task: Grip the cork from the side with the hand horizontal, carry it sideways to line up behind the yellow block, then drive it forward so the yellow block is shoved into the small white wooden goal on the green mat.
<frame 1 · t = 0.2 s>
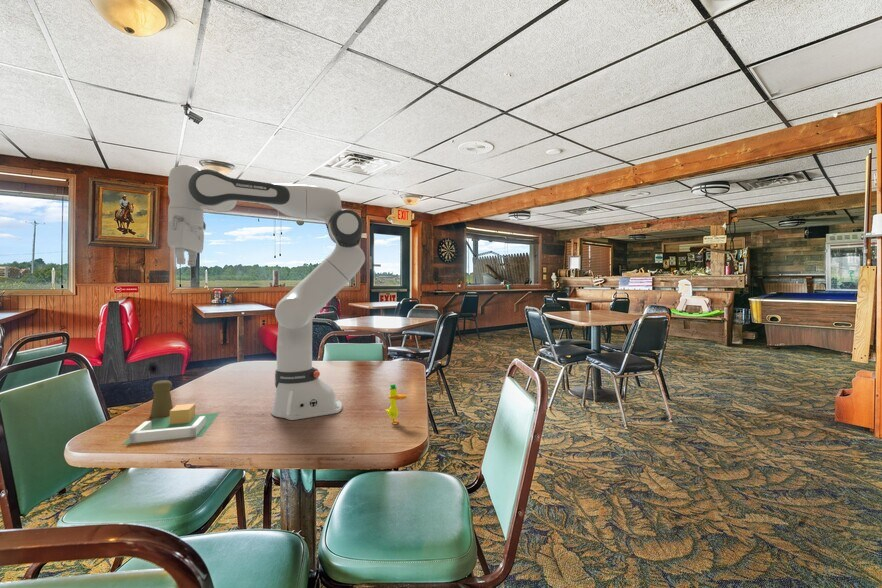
hand: (186, 265, 114), 48 cm above the table, tool pointing down, fingers open, 8 cm apart
goal: (170, 432, 104), resting on mat
toy figure: (395, 423, 114), on the table
mat: (176, 427, 109), on the table
yellow block: (182, 420, 114), resting on mat
cork: (162, 415, 119), on the table
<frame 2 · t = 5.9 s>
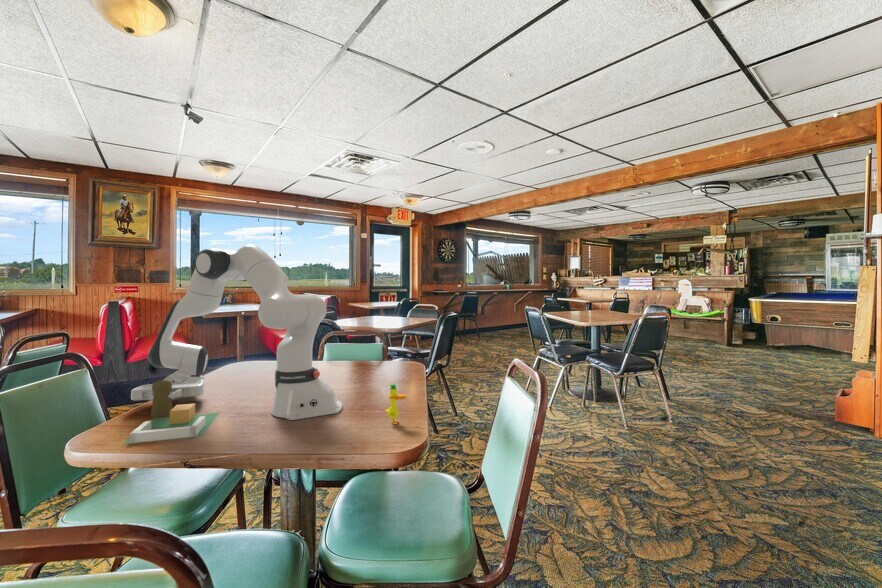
hand: (161, 397, 118), 6 cm above the table, tool horizontal, fingers closed on cork, 4 cm apart
cork: (162, 415, 119), on the table, touching gripper
everything else where it was.
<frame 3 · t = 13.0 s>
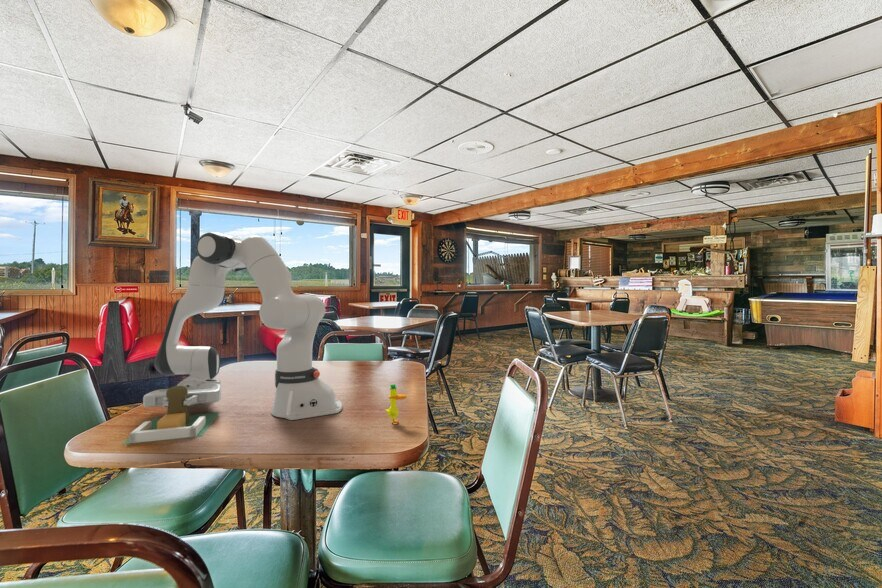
hand: (176, 403, 109), 7 cm above the table, tool horizontal, fingers closed on cork, 4 cm apart
yellow block: (171, 431, 106), resting on mat
cork: (178, 423, 111), resting on mat, touching gripper
everything else where it was.
when the fingers open (7 cm above the table, at t = 13.0 s): cork stays where it is, resting on mat.
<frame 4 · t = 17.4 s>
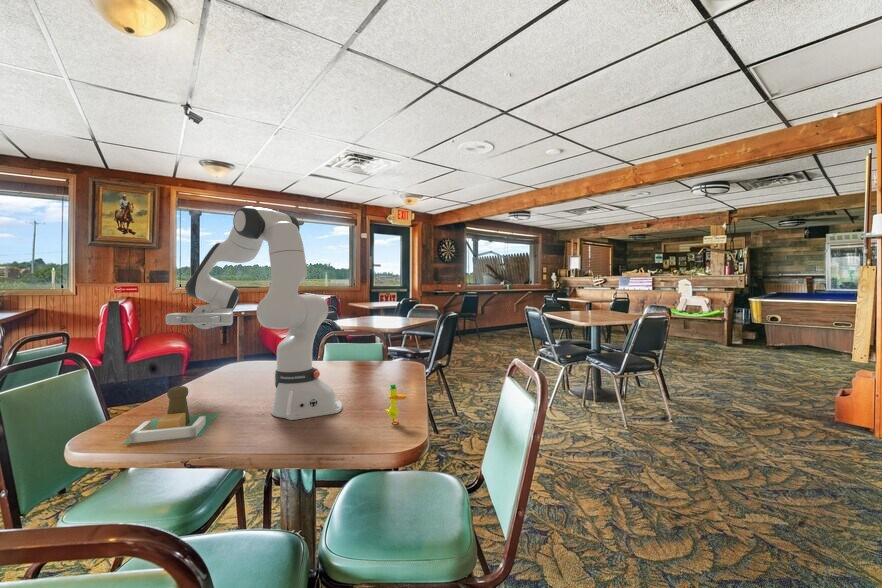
hand: (194, 320, 125), 30 cm above the table, tool horizontal, fingers open, 8 cm apart
cork: (178, 424, 111), resting on mat
everything else where it was.
at the end: yellow block inside the target area (1.2 cm from its centre), resting on mat; the gripper is holding nothing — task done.
